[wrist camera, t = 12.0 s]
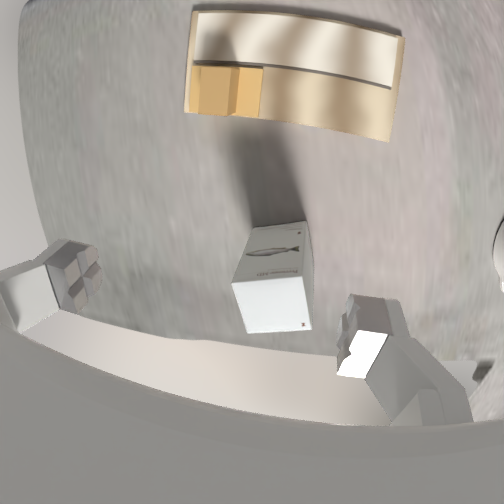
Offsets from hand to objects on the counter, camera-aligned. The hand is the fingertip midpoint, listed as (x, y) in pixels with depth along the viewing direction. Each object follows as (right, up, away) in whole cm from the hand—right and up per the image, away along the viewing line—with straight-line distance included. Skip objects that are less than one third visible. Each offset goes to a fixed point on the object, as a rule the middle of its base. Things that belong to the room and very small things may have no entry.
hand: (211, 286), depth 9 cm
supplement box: (+6, +2, +33) cm, 33 cm away
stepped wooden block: (-2, +19, +22) cm, 29 cm away
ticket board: (+6, +21, +20) cm, 30 cm away
